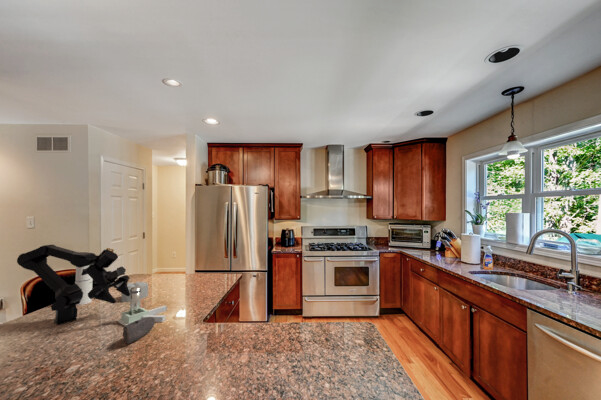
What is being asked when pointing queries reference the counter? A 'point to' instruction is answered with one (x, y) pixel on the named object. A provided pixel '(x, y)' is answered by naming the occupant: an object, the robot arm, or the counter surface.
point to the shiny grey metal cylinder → (135, 300)
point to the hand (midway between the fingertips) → (122, 299)
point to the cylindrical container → (84, 284)
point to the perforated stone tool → (137, 329)
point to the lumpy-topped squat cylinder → (142, 284)
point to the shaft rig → (143, 315)
